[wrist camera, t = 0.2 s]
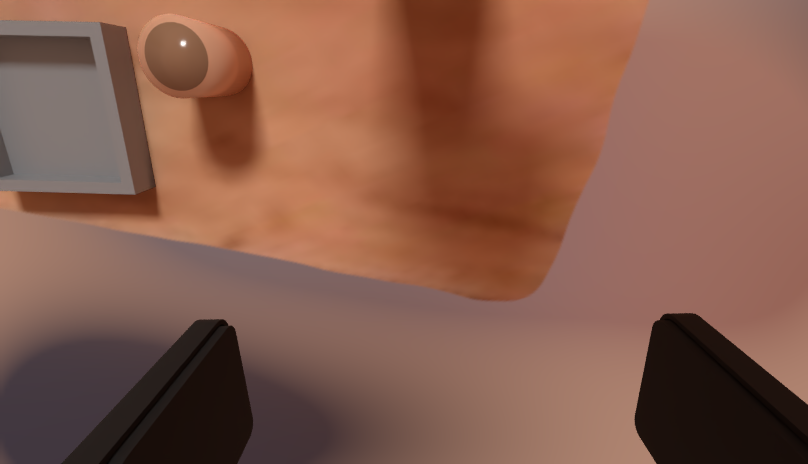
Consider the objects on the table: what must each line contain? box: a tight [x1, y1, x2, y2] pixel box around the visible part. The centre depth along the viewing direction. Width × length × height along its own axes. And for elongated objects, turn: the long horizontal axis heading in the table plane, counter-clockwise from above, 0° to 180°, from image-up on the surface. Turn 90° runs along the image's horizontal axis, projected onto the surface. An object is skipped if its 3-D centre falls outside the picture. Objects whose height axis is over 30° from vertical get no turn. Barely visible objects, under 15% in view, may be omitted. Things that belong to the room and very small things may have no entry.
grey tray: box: [0, 20, 156, 195], centre depth 42 cm, size 16×16×4 cm
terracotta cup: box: [138, 14, 252, 98], centre depth 37 cm, size 6×6×8 cm
